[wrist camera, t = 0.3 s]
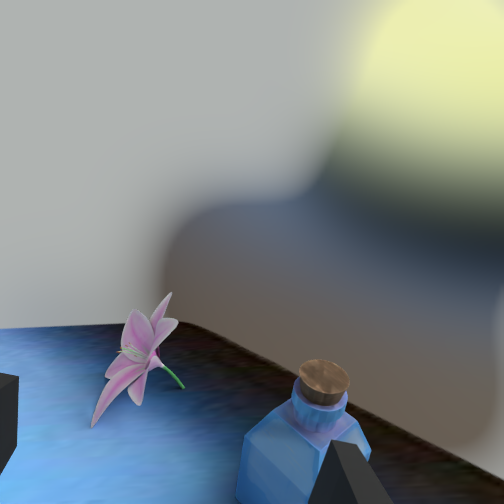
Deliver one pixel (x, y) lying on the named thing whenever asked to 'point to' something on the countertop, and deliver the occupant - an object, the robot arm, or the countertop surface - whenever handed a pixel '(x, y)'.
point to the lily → (137, 356)
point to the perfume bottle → (297, 438)
